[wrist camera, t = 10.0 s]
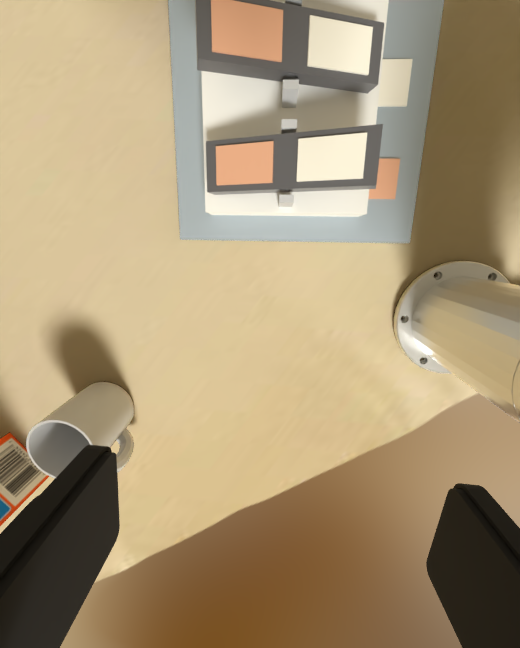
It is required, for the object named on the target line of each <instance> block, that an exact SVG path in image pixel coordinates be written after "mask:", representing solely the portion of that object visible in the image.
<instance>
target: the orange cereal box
mask: <svg viewBox="0 0 520 648" xmlns="http://www.w3.org/2000/svg"><path fill="white" fill-rule="evenodd" d="M48 477H49V476H48V475H46V474H45V473H43V472H42V471H40V470H39V469H38V468H37V467H36V466H35V465H34V464H33V462H32V461H31V459H30V457H29V455H28V452H27V449H26V448H25V447H24V446H23V445H22V444H21V443H20V442H19V441H18V440H17V439H16V438H15V437H14V436H13V435H12V434H11V433H10V432H9V433H8V434H7V435H5V436H4V437H2V438H1V439H0V526H1V525H2V524H3V523H4V522H5V521H6V520H7V519H8V518H9V517H10V516H11V515H12V514H13V513H14V512H15V511H16V510H17V509H18V508H19V507H20V506H21V504H22V503H23V502H24V501H25V500H26V499H27V498H28V497H29V496H30V495H31V494H32V493H33V492H34V491H35V490H36V489H37V488H38V487H39V486H40V485H41V484H42V483H43V482H44V481H45V480H46V479H47V478H48Z"/></svg>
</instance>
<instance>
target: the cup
mask: <svg viewBox="0 0 520 648" xmlns="http://www.w3.org/2000/svg"><path fill="white" fill-rule="evenodd" d="M133 416H134V406H133V402H132V399H131V397H130V396H129V394H128V393H127V392H126V391H125V390H124V389H123V388H121V387H120V386H118V385H116V384H113V383H109V382H97V383H93V384H91V385H89V386H88V387H86V388H85V389H83V390H82V391H80V392H79V393H78V394H76V395H75V396H74V397H72V398H71V399H70V400H68V401H67V402H66V403H64V404H63V405H62V406H60V407H59V408H58V409H56V410H55V411H54V412H52V413H51V414H50V415H48V416H47V417H46V418H44V419H43V420H42V421H40V422H39V423H38V424H36V425H35V426H34V427H33V428H32V429H31V430H30V432H29V433H28V436H27V439H26V448H27V452H28V455H29V457H30V459H31V461H32V462H33V464H34V465H35V466H36V467H37V468H38V469H39V470H40V471H42V472H43V473H45V474H46V475H48V476H50V477H52V478H56V477H57V476H58V475H59V474H60V473H61V472H62V471H63V470H64V469H65V468H66V466H67V465H68V464H69V463H70V462H71V461H72V460H73V459H74V458H75V457H76V456H77V455H78V454H79V452H80V451H81V450H82V449H83V448H84V447H85V446H87V445H99V446H108V447H111V446H112V445H113V443H114V442H115V441H116V440H117V441H118V443H119V445H120V449H119V452H118V454H117V455H116V457H117V472H119V471H120V470H121V469H122V468H123V467H125V465H126V464H127V462H128V461H129V459H130V457H131V454H132V452H133V447H134V442H133V437H132V436H131V434H130V432H129V431H128V430H127V429H126V428H127V426H128V425H129V424H130V422H131V420H132V418H133Z"/></svg>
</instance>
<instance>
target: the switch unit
mask: <svg viewBox="0 0 520 648" xmlns="http://www.w3.org/2000/svg"><path fill="white" fill-rule="evenodd" d="M271 1H277V2H282V3H287V4H292V5H297V6H302V7H307V8H312V9H317V10H323V11H328V12H333V13H338V14H343V15H348V16H353V17H358V18H363V19H369V20H374V21H379V22H384V31H383V41H382V51H381V61H380V71H379V81H378V85H377V86H376V87H375V88H374V89H372V90H371V91H370V92H369V93H368V94H367V93H360V92H352V91H345V90H338V89H330V88H323V87H316V86H309V85H301V84H299V80H283V82H280V81H272V80H265V79H258V78H250V77H243V76H236V75H229V74H221V73H214V72H207V71H199V70H197V47H196V16H195V0H168V7H169V26H170V46H171V66H172V86H173V105H174V125H175V145H176V164H177V184H178V204H179V224H180V239H182V240H239V241H300V242H361V243H410V239H411V232H412V225H413V218H414V211H415V204H416V196H417V189H418V182H419V175H420V168H421V161H422V154H423V147H424V140H425V133H426V126H427V119H428V111H429V104H430V97H431V90H432V83H433V76H434V69H435V62H436V55H437V48H438V41H439V34H440V27H441V19H442V12H443V5H444V0H271ZM377 124H383V129H382V138H381V147H380V157H379V166H378V175H377V184H376V189H360V190H333V191H306V192H279V193H252V194H225V195H214V194H211V193H208V192H207V167H206V141H213V140H223V139H234V138H244V137H254V136H264V135H275V134H285V133H295V132H305V131H316V130H326V129H336V128H346V127H356V126H367V125H377Z"/></svg>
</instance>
